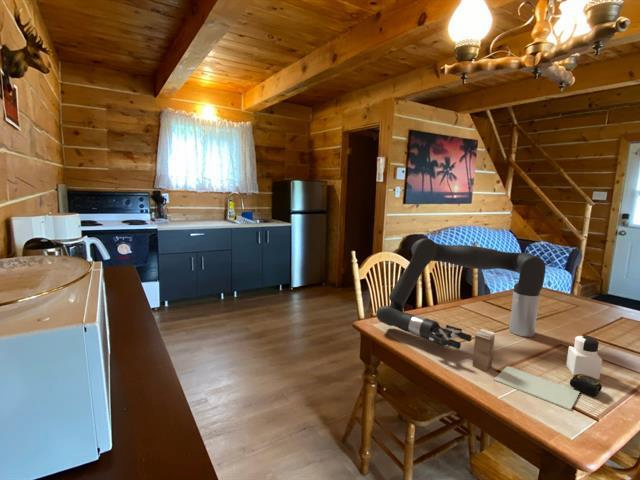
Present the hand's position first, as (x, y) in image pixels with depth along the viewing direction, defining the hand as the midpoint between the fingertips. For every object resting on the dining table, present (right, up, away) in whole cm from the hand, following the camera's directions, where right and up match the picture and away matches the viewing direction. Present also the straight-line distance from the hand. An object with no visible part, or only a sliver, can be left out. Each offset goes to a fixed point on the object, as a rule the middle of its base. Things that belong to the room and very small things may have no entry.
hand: (465, 342), depth 121 cm
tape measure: (+29, -10, -17) cm, 35 cm away
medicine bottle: (+36, -8, -6) cm, 37 cm away
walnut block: (+4, -7, -3) cm, 9 cm away
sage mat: (+15, -9, -15) cm, 23 cm away
